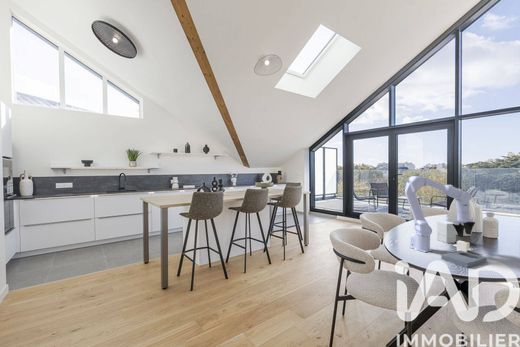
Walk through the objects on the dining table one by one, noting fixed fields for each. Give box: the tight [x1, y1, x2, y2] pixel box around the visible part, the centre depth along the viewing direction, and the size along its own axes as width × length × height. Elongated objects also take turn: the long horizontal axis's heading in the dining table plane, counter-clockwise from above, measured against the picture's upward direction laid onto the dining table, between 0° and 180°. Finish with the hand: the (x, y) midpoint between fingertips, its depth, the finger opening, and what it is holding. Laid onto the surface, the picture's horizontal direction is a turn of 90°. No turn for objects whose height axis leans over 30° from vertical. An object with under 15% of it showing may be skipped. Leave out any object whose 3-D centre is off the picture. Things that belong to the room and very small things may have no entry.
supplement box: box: [436, 220, 457, 244], centre depth 164 cm, size 7×7×13 cm
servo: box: [452, 240, 474, 254], centre depth 144 cm, size 9×3×6 cm, turn 24°
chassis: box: [441, 250, 488, 269], centre depth 131 cm, size 12×17×2 cm
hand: (464, 235), depth 143 cm, fingers open, 7 cm apart
